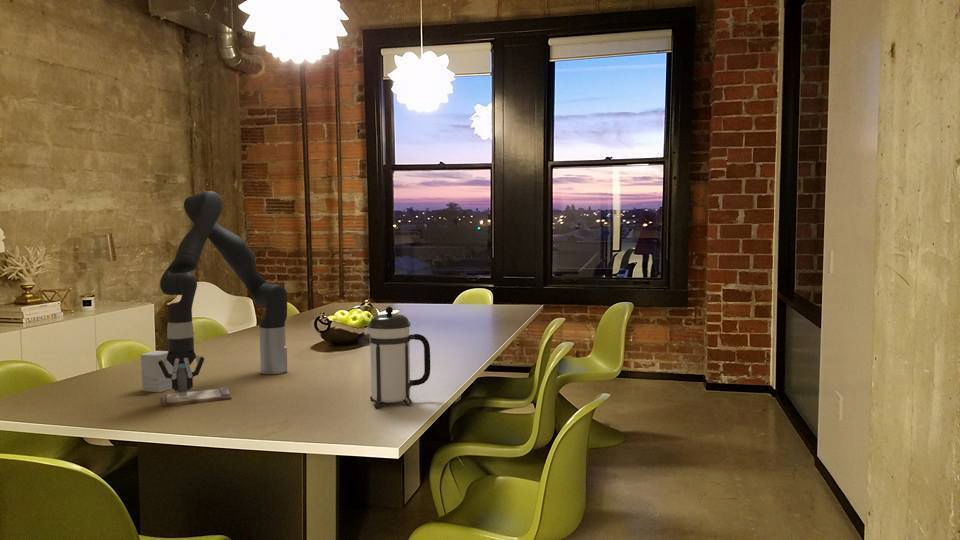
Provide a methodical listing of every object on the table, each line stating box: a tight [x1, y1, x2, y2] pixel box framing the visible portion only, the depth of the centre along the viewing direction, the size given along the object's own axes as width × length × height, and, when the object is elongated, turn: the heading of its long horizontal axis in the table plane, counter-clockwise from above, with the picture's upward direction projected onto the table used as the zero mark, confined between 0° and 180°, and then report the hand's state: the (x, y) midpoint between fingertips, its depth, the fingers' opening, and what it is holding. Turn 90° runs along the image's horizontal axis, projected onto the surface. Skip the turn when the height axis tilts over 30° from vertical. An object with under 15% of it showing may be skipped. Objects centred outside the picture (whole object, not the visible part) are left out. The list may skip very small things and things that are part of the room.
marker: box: [176, 363, 189, 396], centre depth 214 cm, size 4×4×10 cm
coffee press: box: [363, 306, 431, 409], centre depth 209 cm, size 17×16×30 cm
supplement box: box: [140, 350, 173, 393], centre depth 229 cm, size 7×7×13 cm
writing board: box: [161, 386, 232, 408], centre depth 217 cm, size 20×13×2 cm, turn 115°
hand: (182, 389), depth 214 cm, fingers closed on marker, 3 cm apart
